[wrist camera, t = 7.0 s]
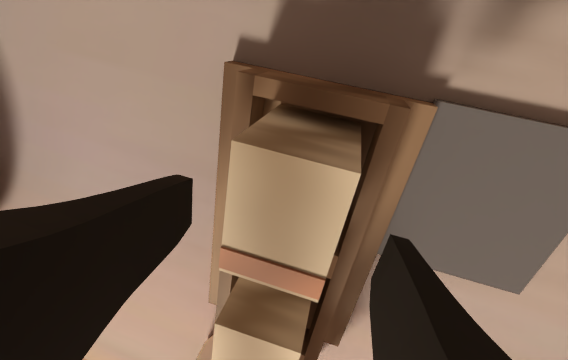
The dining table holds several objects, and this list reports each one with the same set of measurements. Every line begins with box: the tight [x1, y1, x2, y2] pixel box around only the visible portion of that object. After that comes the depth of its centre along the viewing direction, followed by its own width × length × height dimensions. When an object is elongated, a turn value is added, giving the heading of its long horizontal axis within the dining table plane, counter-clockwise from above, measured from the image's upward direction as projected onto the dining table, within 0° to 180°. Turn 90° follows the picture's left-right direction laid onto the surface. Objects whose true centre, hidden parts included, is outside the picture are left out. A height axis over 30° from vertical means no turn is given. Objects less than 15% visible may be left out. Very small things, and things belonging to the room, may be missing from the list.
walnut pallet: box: [209, 61, 438, 360], centre depth 17 cm, size 10×17×3 cm, turn 171°
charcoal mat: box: [377, 99, 568, 294], centre depth 15 cm, size 8×9×1 cm
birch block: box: [219, 104, 361, 303], centre depth 12 cm, size 4×6×6 cm
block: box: [212, 277, 311, 360], centre depth 16 cm, size 4×6×6 cm
